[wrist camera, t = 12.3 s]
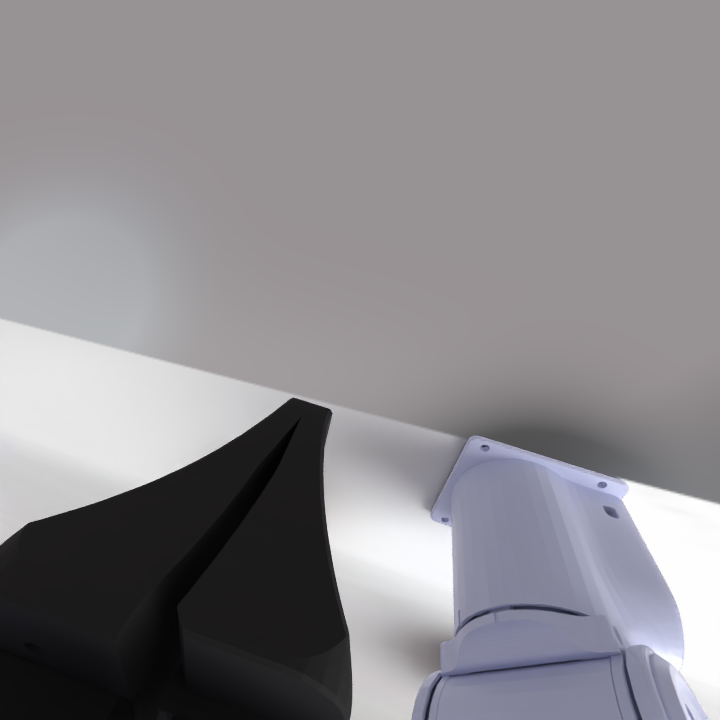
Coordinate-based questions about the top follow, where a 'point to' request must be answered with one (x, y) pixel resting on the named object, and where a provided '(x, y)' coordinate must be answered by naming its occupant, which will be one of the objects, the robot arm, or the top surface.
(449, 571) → the top surface
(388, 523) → the top surface
